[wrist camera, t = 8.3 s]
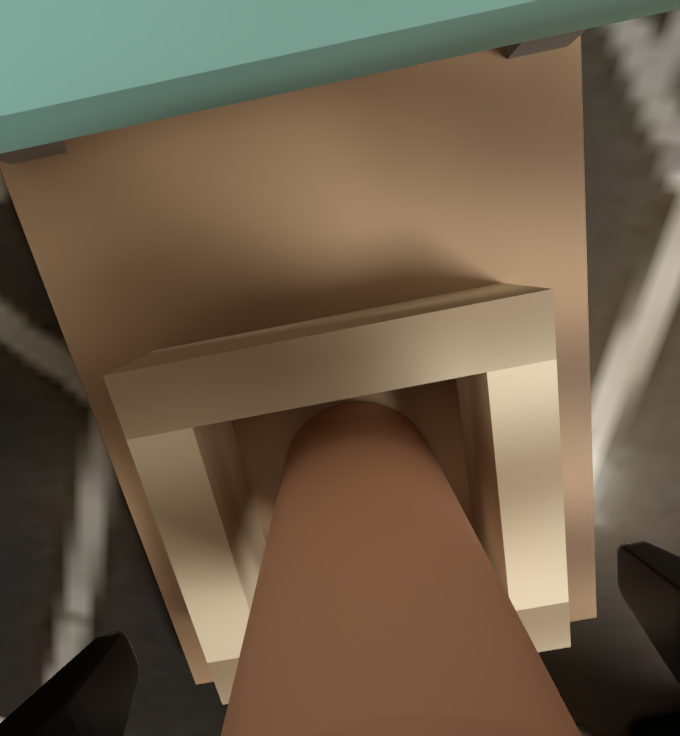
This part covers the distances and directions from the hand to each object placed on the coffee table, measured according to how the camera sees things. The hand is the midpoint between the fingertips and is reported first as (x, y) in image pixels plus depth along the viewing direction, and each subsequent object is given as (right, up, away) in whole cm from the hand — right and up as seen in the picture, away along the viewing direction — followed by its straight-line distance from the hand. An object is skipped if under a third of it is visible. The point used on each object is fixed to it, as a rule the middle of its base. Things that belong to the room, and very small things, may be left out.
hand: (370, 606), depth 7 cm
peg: (0, +1, +5) cm, 5 cm away
